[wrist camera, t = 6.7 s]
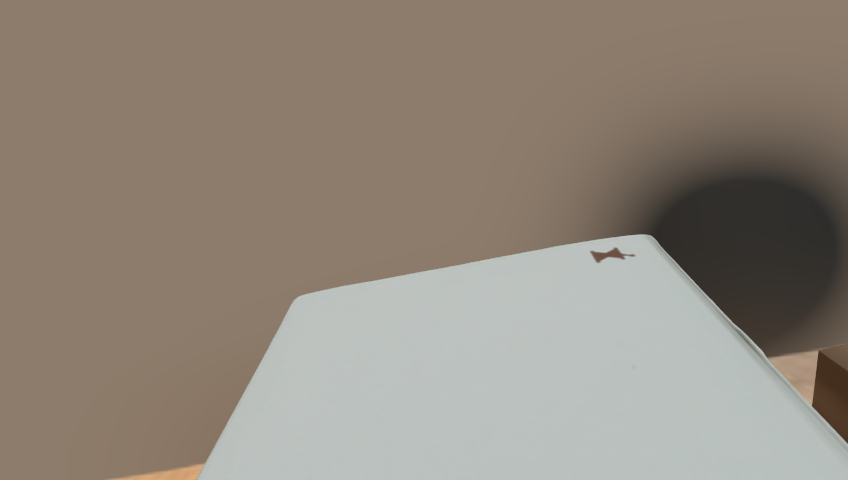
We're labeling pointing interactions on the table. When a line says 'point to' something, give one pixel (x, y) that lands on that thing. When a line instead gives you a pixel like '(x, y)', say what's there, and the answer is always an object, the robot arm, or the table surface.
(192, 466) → the table surface
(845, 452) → the supplement box
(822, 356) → the walnut stand
